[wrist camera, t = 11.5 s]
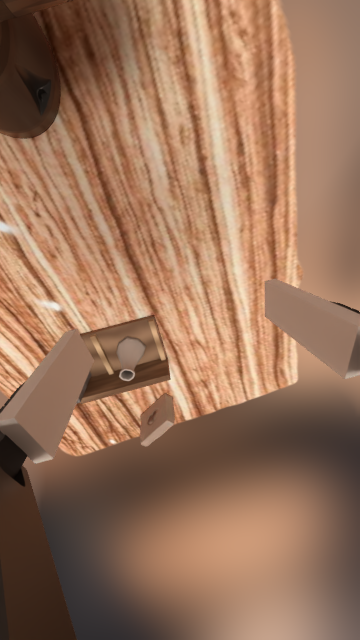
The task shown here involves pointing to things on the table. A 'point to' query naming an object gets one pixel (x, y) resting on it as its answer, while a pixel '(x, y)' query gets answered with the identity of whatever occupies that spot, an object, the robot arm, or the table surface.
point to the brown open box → (108, 365)
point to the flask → (129, 356)
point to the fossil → (157, 419)
